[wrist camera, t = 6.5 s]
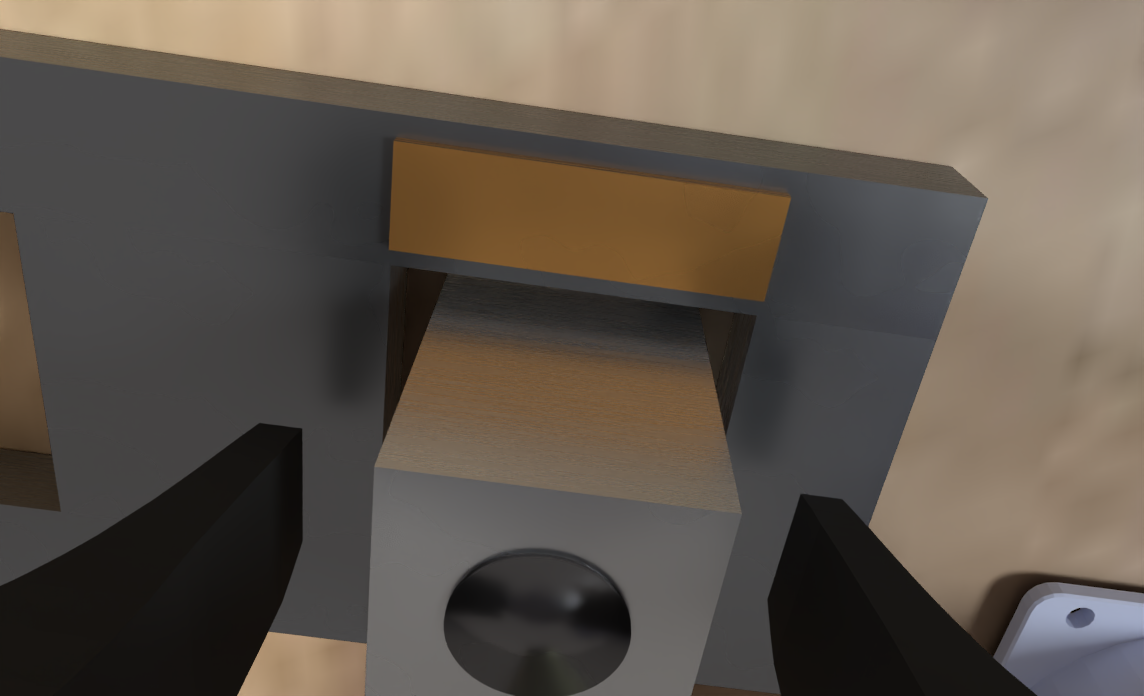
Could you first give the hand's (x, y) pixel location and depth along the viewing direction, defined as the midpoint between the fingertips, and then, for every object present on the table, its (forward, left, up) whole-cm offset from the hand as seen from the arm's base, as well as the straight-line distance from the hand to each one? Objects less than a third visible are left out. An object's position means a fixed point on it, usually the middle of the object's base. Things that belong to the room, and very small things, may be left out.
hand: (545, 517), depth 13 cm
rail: (+6, 0, -3) cm, 6 cm away
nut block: (0, 0, -3) cm, 4 cm away
